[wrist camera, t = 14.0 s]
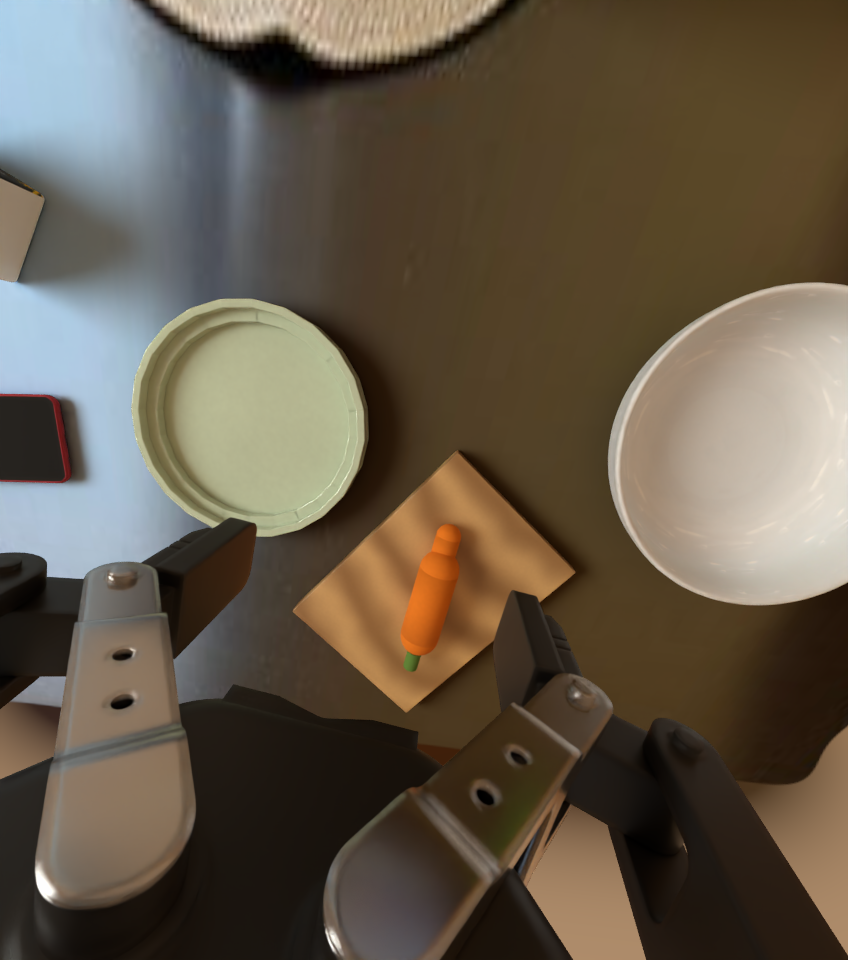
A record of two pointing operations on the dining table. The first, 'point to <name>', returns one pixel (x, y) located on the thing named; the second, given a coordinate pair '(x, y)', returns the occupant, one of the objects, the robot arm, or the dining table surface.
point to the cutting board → (393, 570)
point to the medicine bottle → (16, 223)
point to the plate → (249, 415)
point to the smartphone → (32, 440)
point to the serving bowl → (742, 449)
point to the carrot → (431, 596)
